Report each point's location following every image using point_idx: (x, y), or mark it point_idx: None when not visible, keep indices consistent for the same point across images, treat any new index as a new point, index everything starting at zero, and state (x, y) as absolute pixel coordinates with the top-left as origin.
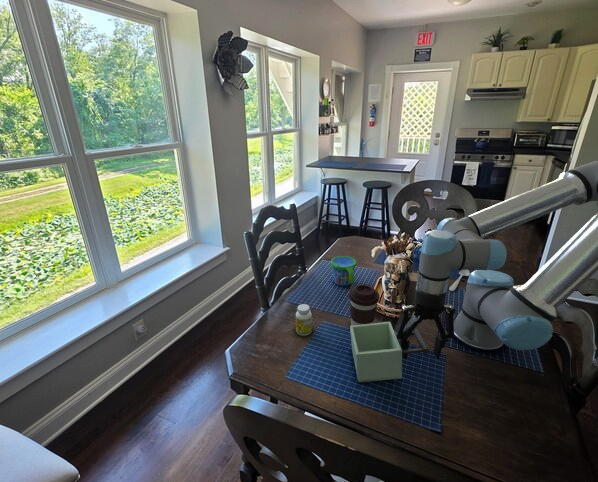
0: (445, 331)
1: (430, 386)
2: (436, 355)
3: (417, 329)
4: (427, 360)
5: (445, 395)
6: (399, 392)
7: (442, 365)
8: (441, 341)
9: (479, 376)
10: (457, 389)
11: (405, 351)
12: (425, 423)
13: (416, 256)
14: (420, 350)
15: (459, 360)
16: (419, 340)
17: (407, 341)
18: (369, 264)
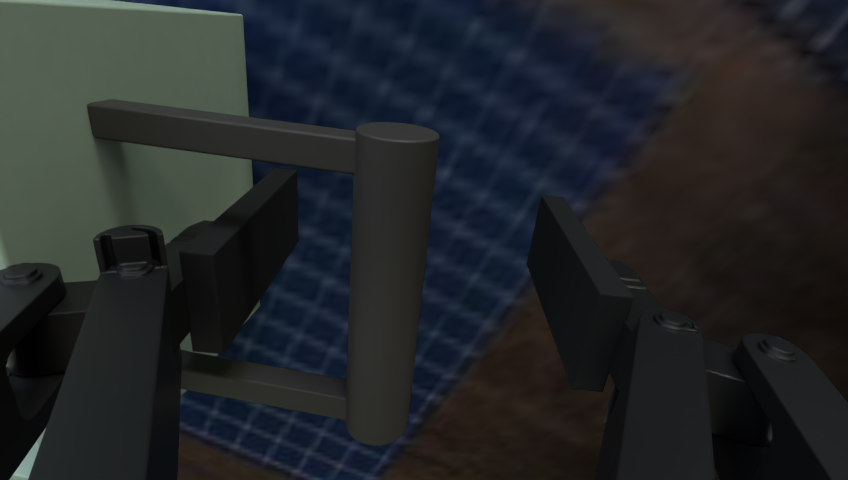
0: (717, 380)
1: (421, 328)
2: (532, 263)
3: (407, 154)
4: (506, 144)
5: (470, 379)
6: (244, 342)
7: (582, 199)
8: (585, 381)
9: (742, 300)
10: (553, 357)
11: (190, 389)
12: (316, 470)
13: None
14: (324, 415)
15: (731, 169)
16: (356, 327)
17: (204, 347)
18: None
